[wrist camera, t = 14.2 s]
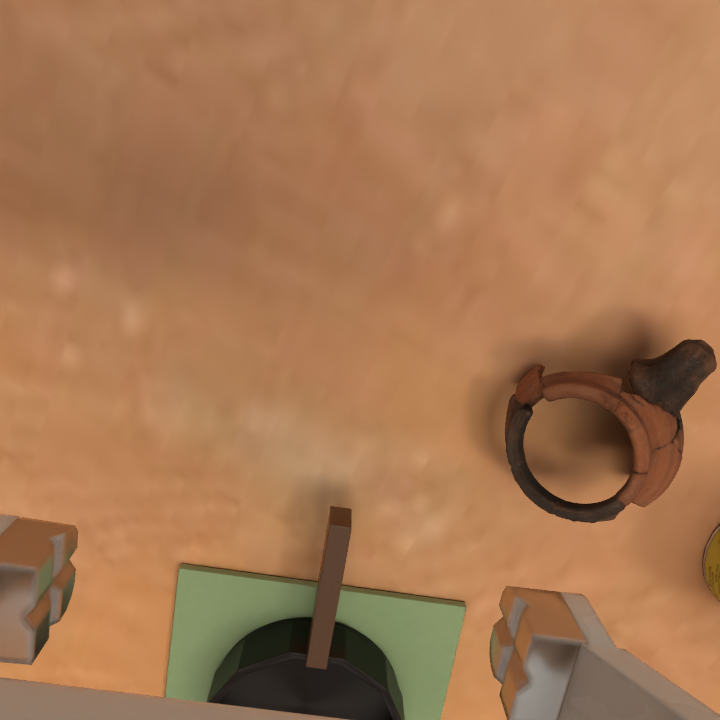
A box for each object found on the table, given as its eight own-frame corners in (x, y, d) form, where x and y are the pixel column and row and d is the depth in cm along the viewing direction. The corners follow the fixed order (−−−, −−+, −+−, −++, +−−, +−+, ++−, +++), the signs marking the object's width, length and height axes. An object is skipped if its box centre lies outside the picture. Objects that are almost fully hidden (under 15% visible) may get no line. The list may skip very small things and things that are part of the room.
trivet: (158, 771, 45) (155, 778, 44) (181, 563, 41) (178, 568, 41) (418, 802, 46) (419, 810, 45) (465, 601, 42) (466, 607, 41)
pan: (204, 761, 44) (189, 819, 40) (241, 477, 39) (228, 510, 35) (381, 782, 45) (385, 842, 41) (440, 505, 40) (450, 541, 36)
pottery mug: (615, 516, 41) (588, 575, 34) (500, 413, 44) (453, 447, 37) (768, 377, 36) (774, 413, 29) (627, 268, 39) (600, 277, 31)
